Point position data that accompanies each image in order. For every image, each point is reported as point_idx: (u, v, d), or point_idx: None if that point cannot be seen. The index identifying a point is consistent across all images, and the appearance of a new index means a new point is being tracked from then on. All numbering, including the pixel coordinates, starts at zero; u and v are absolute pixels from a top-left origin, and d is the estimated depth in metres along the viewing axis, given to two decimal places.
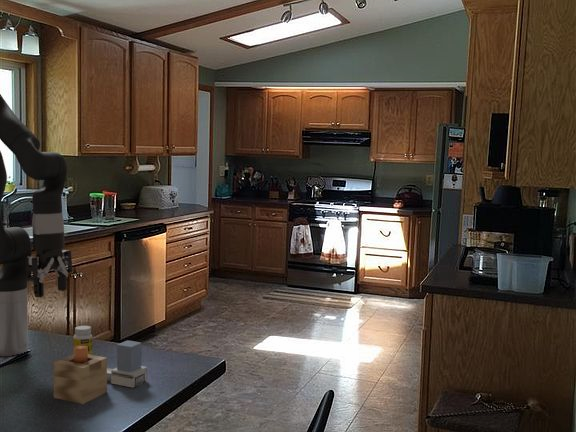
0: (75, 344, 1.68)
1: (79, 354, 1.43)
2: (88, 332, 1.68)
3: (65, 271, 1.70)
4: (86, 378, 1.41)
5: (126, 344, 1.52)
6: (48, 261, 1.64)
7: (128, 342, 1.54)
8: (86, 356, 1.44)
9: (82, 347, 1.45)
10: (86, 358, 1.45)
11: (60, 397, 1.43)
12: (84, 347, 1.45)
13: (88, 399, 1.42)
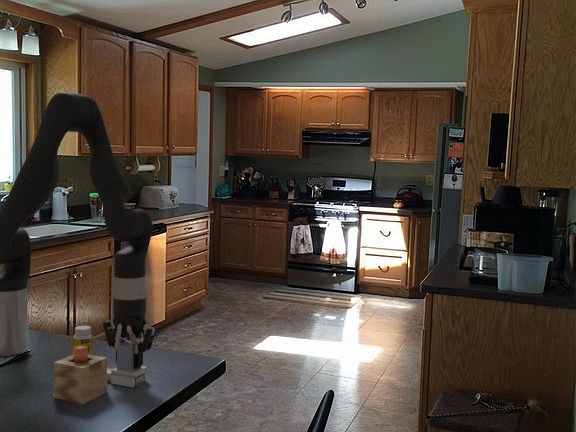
0: (75, 344, 1.68)
1: (79, 354, 1.43)
2: (88, 332, 1.68)
3: None
4: (86, 378, 1.41)
5: (126, 344, 1.52)
6: None
7: (128, 342, 1.54)
8: (86, 356, 1.44)
9: (82, 347, 1.45)
10: (86, 358, 1.45)
11: (60, 397, 1.43)
12: (84, 347, 1.45)
13: (88, 399, 1.42)
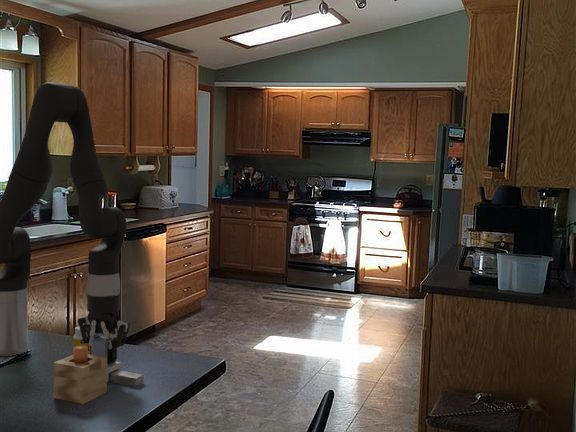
0: (75, 344, 1.68)
1: (79, 354, 1.43)
2: None
3: None
4: (86, 378, 1.41)
5: (100, 340, 1.55)
6: None
7: (102, 338, 1.57)
8: (86, 356, 1.44)
9: (82, 347, 1.45)
10: (86, 358, 1.45)
11: (60, 397, 1.43)
12: (84, 347, 1.45)
13: (88, 399, 1.42)
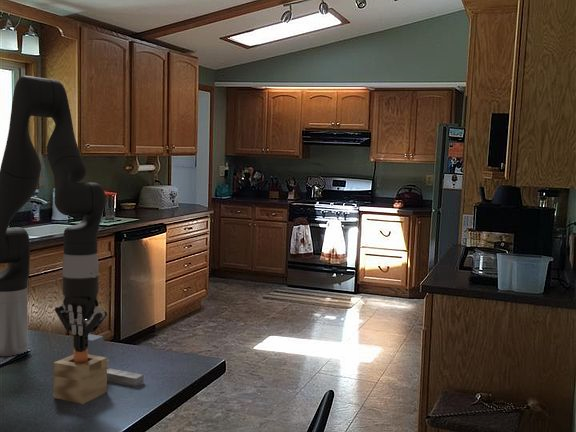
0: None
1: (79, 357, 1.43)
2: None
3: None
4: (86, 378, 1.41)
5: (88, 338, 1.56)
6: None
7: (90, 336, 1.58)
8: (86, 358, 1.44)
9: None
10: (86, 361, 1.45)
11: (60, 397, 1.43)
12: None
13: (88, 399, 1.42)
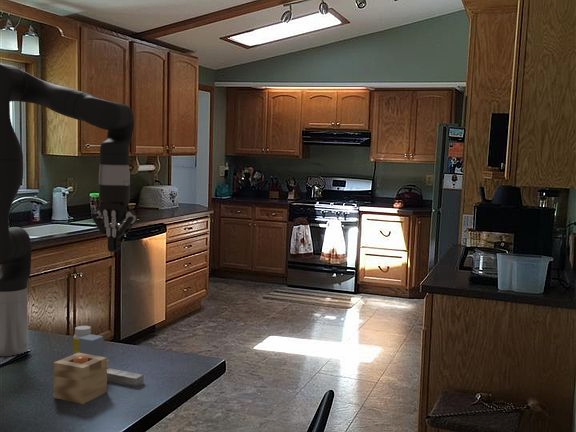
0: (75, 344, 1.68)
1: None
2: (88, 332, 1.68)
3: None
4: (86, 378, 1.41)
5: (88, 338, 1.56)
6: None
7: (90, 336, 1.58)
8: None
9: (82, 357, 1.45)
10: None
11: (60, 397, 1.43)
12: (84, 357, 1.45)
13: (88, 399, 1.42)
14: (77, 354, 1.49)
